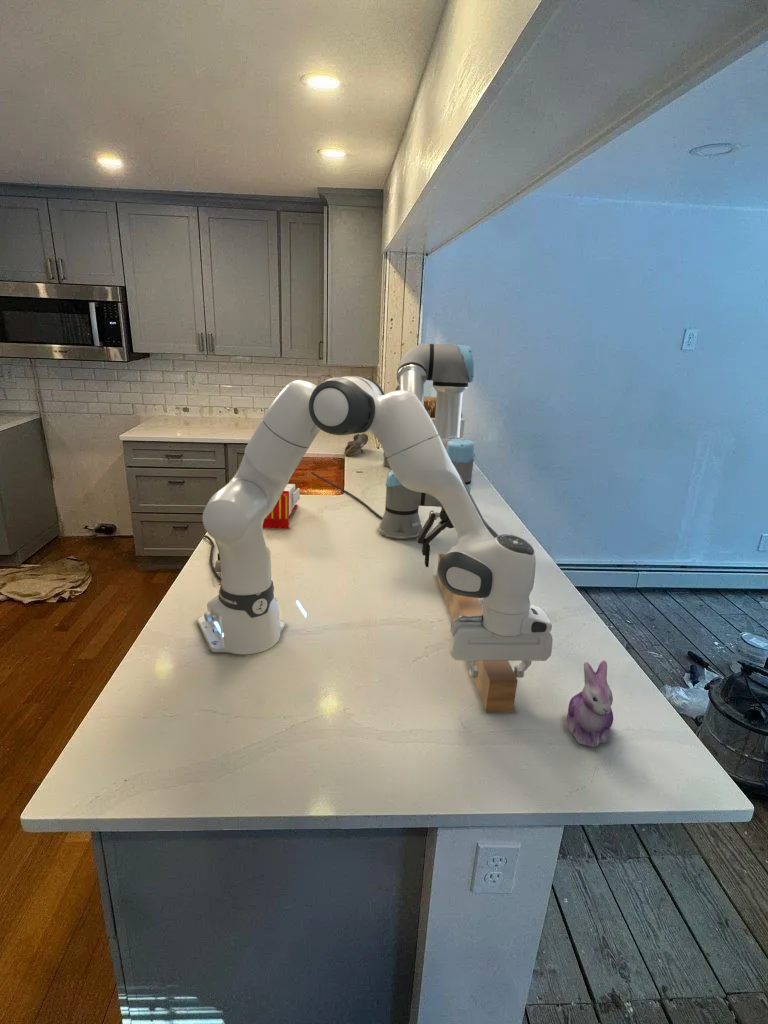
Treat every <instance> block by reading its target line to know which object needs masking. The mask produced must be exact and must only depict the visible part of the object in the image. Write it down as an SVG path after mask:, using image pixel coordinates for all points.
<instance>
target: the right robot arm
mask: <svg viewBox="0 0 768 1024" xmlns="http://www.w3.org/2000/svg"><path fill="white" fill-rule="evenodd" d="M474 375H475V361H474V354H473V350H472V348H471V347H470V346H469V345H463V344H458V343H457V344H453V343H452V344H449V343H448V344H447V343H429V342H424V343H419V344H417V345H415V346H413V347H411V348H410V349H408V351H407V352H405V354H404V355H403V356H402V357H401V359H400V361H399V363H398V365H397V369H396V381H397V383H398V385H400V390H407V391H410V392H412V393H414V394H415V395H416V396H417V398H418V399H419V400H420V402H421V403H422V405H423V406H424V397H425V395H424V394H425V392H424V391H425V390H424V389H425V383H426V382H427V381H430V382H431V381H432V388H433V389H434V390H435V391H436V396H435V397H436V413H435V428H436V430H437V432H438V435H439V436H440V438H441V441H442V443H443V445H444V447H445V450H446V452H447V454H448V456H449V458H450V460H451V462H452V463H453V465H454V467H455V468H456V470H457V471H458V473H459V474H460V476H461V478H462V479H463V481H464V483H465V485H466V486H467V488H468V490H469V492H470V493H471V489H472V478H473V469H474V463H475V462H474V461H475V457H476V453H475V451H476V449H475V448H476V446H475V443H474V442H473V441H471V440H469V439H463V438H459V435H460V422H461V418H462V417H461V412H462V409H463V408H462V407H463V396H464V395H463V394H464V392H465V391H466V390H467V389H468V388H469V383H473V382H474ZM438 435H436V436H438ZM436 436H434V437H436ZM429 439H431V438H429ZM429 439H427V440H429ZM427 440H425V441H427ZM425 441H423V442H425ZM423 442H420V443H423ZM420 443H418V444H420ZM418 444H416V445H418ZM416 445H414V446H416ZM414 446H412V447H414ZM409 448H411V447H409ZM409 448H407V449H409ZM407 449H405V450H407ZM405 450H403V451H405ZM403 451H401V452H403ZM398 453H400V452H398ZM398 453H396V454H398ZM396 454H394V455H396ZM394 455H392V456H394ZM392 456H391V457H392ZM310 474H312V475H313V476H315V477H316V478H318V479H319V480H322V481H323V482H325V483H327V484H328V485H331V486H332V487H334V488H336V489H338V490H340V491H342V492H344V493H345V494H347V495H348V496H350V497H352V498H353V499H354V500H356V501H357V502H359V503H360V504H361V505H363V506H364V507H366V508H367V509H368V510H369V511H370V512H371V513H372V514H374V515H375V516H376V517H377V518H379V519H380V520H381V522H379V526H378V533H379V534H380V535H381V536H382V537H385V538H387V539H389V540H395V541H410V540H415V539H416V543H417V544H418V545H421V546H422V547H421V553H422V556H423V557H424V565H425V568H429V567H430V566H429V565H430V554H431V553H430V551H431V544H430V543H431V542H432V541H433V540H434V539H435V538H436V537H437V536H438V535H440V533H441V532H442V531H445V529H446V528H447V529H455V528H454V526H453V524H452V523H451V521H450V519H449V517H448V515H447V513H446V511H445V510H444V508H443V506H442V504H441V503H440V502H439V501H438V500H437V499H436V498H435V497H434V496H432V495H429V494H427V493H422V492H416V491H412V490H409V489H407V488H406V487H404V486H403V485H402V484H401V483H400V482H399V480H398V479H397V478H396V476H395V475H394V473H393V471H392V470H391V471H390V470H389V471H388V473H387V475H386V482H385V486H386V488H385V489H386V490H385V504H384V505H385V507H384V508H385V509H384V513H383V515H382V516H381V515H380V514H379V513H378V512H376V511H375V510H373V509H372V508H371V507H370V506H369V505H368V504H367V503H365V501H362V500H361V499H360V498H358V497H357V496H356V495H354V494H352V493H351V492H349V491H347V490H345V489H344V488H342V487H340V486H338V485H336V484H334V483H332V482H331V481H329V480H328V479H325V478H324V477H322V476H320V475H318V474H316V473H315V472H314V471H311V472H310ZM419 507H433V508H434V507H435V508H440V512H436V511H434V510H430V511H429V514H428V518H427V520H426V521H425V523H424V524H423V525H422V524H421V518H420V515H419ZM438 518H440V520H439V522H438V523H437V524H436V526H435V527H433V524H434V523H435V521H437V519H438ZM432 527H433V529H432V530H431V531H430V529H431V528H432ZM429 531H430V532H429Z"/></svg>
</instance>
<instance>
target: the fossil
mask: <svg viewBox="0 0 768 1024" xmlns="http://www.w3.org/2000/svg"><path fill="white" fill-rule="evenodd" d="M352 439H353V440H350V441H349V440H348V442H347V445H346V446H345V448H344V453H343V454H344V456H345V457H351V456H353V455H356V454H357V453H358V452H359V451H360V452H362V453H364V451H363V450H362V449H363V448H364V446H365V445H367V443H368V442H369V435H368V434H366V432H364V433H356V434H353V437H352Z"/></svg>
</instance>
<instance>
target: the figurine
mask: <svg viewBox="0 0 768 1024" xmlns="http://www.w3.org/2000/svg"><path fill="white" fill-rule="evenodd" d="M583 676H584V677H583V678H584V686H583V688H582V690H581V691H580V692H579V693H577V694H575V695H574V696H572V698H571V699H570V700H569V703H568V709H567V714H566V725H567V728H568V731H569V732H570V733H571V734H572V736H573V737H574V738H575V740H576V742H577V743H578V744H580V745H584V746H588V747H593V748H596V747H598V746H599V745H600V744H601V743H602V744H603V743H605V742H606V741H607V739H608V737H609V734H610V728H611V727H612V726H613V723H614V712H613V709H612V704H613V701H614V697H613V692H612V689H611V687H610V686H609V684H608V680H607V677H608V663H607V661H606V660H602V661H600V663H599V664H598V667H597V670H596V671H595V670H594V669H593V667H592V665H591V664H590V663H589V662H588V661H584V662H583Z"/></svg>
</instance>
